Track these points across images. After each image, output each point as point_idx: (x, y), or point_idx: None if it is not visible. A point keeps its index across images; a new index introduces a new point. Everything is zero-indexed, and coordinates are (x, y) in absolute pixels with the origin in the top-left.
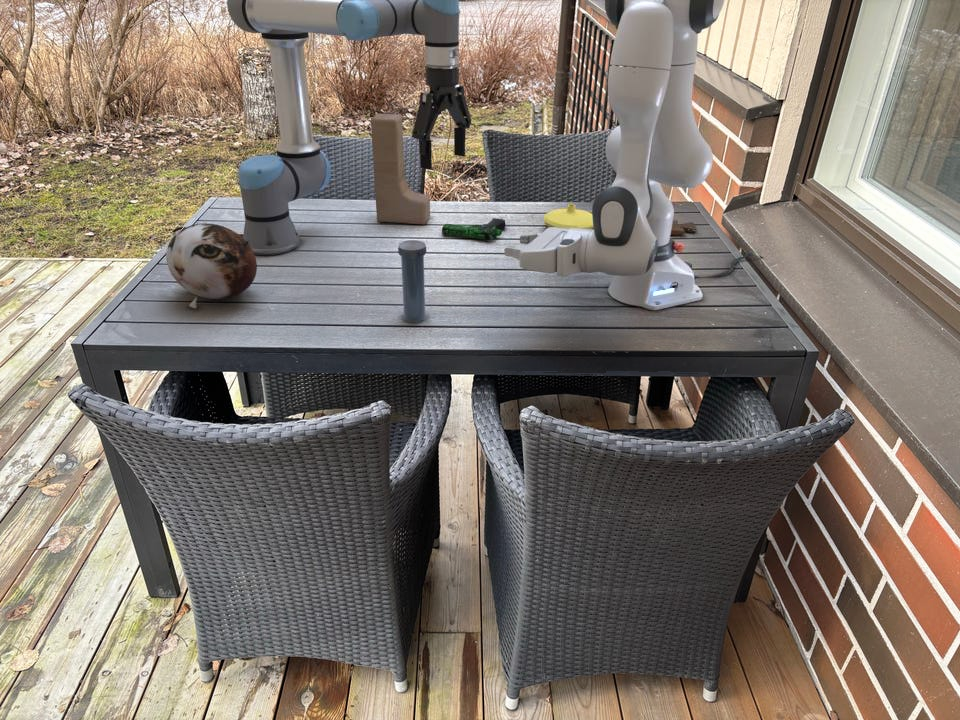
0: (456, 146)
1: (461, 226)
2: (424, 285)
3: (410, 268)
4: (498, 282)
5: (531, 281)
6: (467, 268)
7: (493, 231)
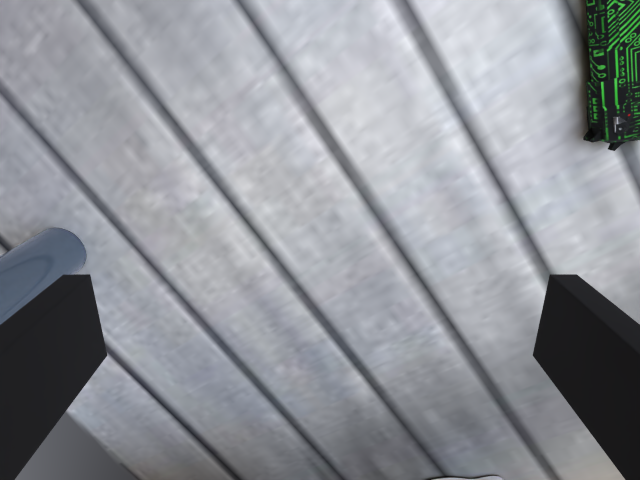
0: (588, 339)
1: (632, 11)
2: None
3: None
4: (338, 300)
5: (387, 353)
6: (370, 193)
7: (629, 139)
